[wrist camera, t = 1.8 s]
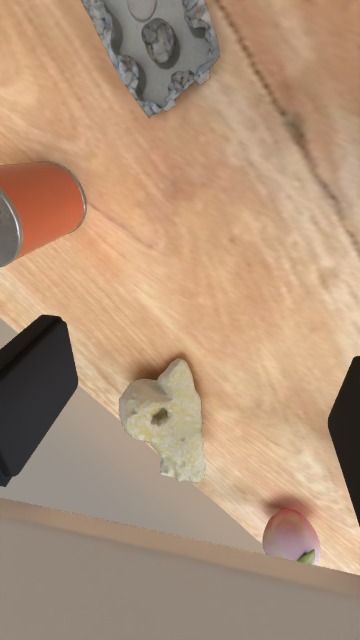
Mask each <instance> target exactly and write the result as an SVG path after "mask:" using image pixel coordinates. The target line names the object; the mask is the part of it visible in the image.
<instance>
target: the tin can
mask: <svg viewBox="0 0 360 640" xmlns="http://www.w3.org/2000/svg"><path fill="white" fill-rule="evenodd" d="M85 215H86V198H85V194H84V191H83V189H82V187H81V185H80V183H79V181H78V180H77V179H76V177H75V176H74V175H73V174H72V173H71V172H70V171H69V170H67V169H66V168H65V167H63V166H61V165H59V164H57V163H54V162H37V163H25V164H10V165H0V267H3V266H6V265H8V264H9V263H11V262H13V261H14V260H16V259H18V258H20V257H22V256H24V255H26V254H28V253H30V252H32V251H34V250H36V249H38V248H40V247H42V246H44V245H46V244H48V243H50V242H52V241H54V240H56V239H58V238H60V237H62V236H64V235H66V234H68V233H71V232H73V231H75V230H76V229H77V228H79V227H80V225H81V224H82V223H83V220H84V218H85Z"/></svg>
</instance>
